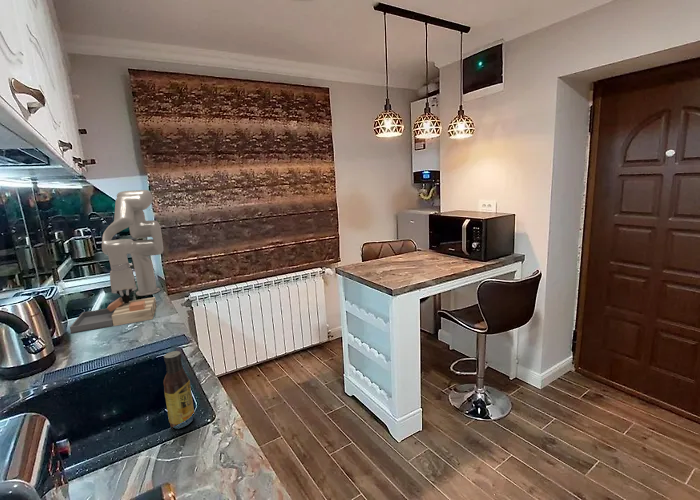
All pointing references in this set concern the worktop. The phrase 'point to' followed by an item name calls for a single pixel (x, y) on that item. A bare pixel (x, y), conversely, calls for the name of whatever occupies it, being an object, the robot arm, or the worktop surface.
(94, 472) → the worktop surface
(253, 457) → the worktop surface
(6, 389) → the worktop surface
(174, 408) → the sauce bottle
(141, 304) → the tile
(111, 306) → the tile
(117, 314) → the bench plate
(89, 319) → the box
